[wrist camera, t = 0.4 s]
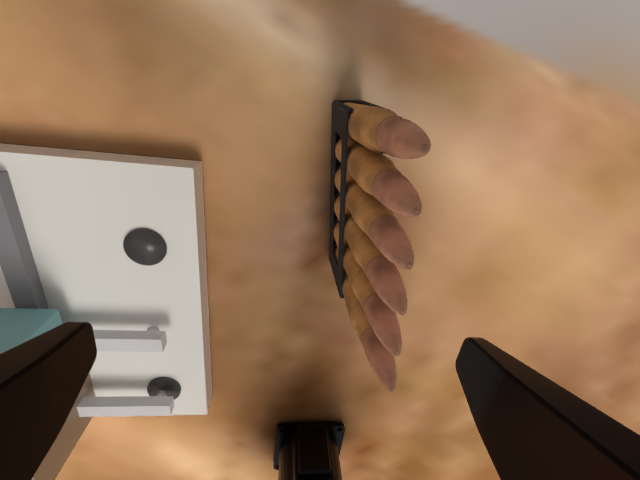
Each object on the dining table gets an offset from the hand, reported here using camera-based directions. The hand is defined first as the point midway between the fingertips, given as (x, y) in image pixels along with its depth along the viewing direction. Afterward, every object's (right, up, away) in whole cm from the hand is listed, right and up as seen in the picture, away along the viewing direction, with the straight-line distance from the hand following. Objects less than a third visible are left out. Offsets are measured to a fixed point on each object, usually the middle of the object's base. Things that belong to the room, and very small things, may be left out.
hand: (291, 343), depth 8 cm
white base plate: (-15, -1, +15) cm, 21 cm away
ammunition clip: (+2, +6, +13) cm, 15 cm away
